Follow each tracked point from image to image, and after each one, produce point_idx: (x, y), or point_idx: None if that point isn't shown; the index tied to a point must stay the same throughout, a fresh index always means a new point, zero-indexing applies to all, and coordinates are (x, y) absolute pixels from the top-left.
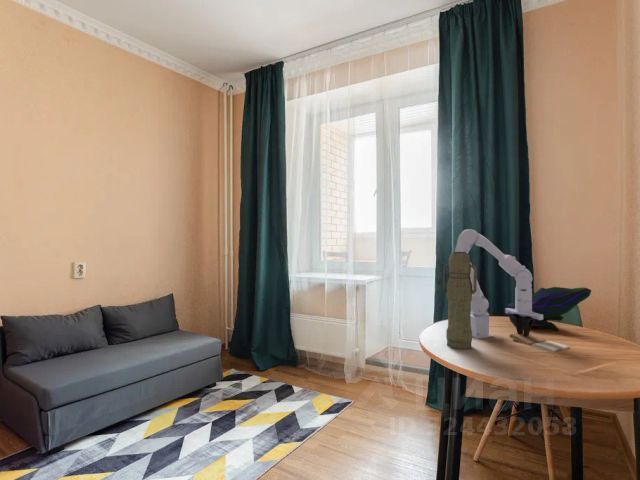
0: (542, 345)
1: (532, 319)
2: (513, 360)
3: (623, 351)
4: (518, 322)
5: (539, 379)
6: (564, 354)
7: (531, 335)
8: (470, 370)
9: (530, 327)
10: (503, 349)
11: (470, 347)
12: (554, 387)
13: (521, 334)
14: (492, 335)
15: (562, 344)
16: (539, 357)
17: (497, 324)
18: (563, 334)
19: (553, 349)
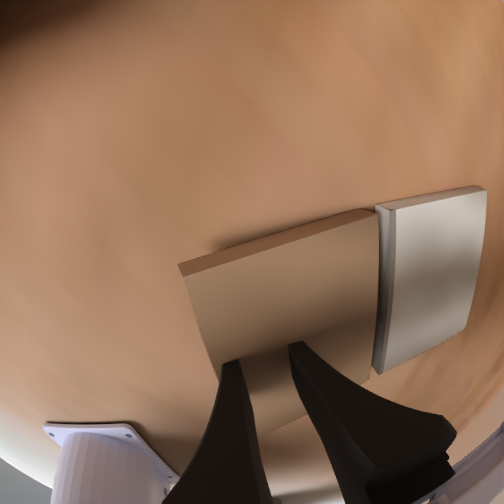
0: (422, 334)
1: (433, 461)
2: None
3: (497, 7)
4: (267, 485)
5: (459, 426)
6: (479, 282)
7: (285, 293)
8: None
9: (349, 389)
10: None
11: (278, 502)
12: (476, 416)
13: (254, 376)
14: (125, 432)
15: (465, 197)
16: (437, 388)
17: None
18: None
19: (465, 322)
